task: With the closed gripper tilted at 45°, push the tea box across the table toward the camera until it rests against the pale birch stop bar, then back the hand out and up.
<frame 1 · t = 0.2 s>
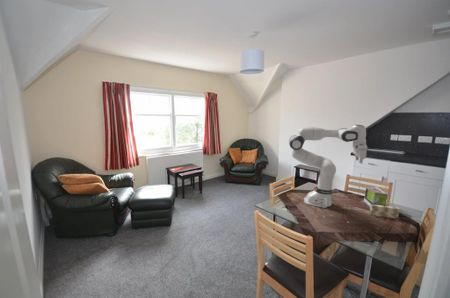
hand: (359, 161, 166), 40 cm above the table, tool pointing down, fingers open, 8 cm apart
tea box: (373, 205, 176), on the table
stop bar: (383, 215, 160), on the table
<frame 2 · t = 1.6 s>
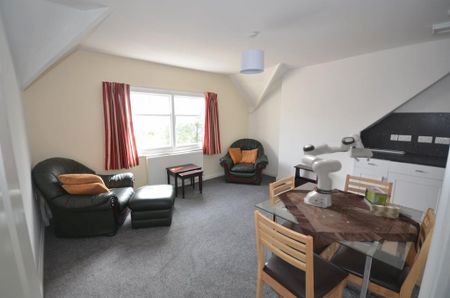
hand: (363, 161, 193), 33 cm above the table, tool tilted 40°, fingers open, 8 cm apart
nothing on the table moved.
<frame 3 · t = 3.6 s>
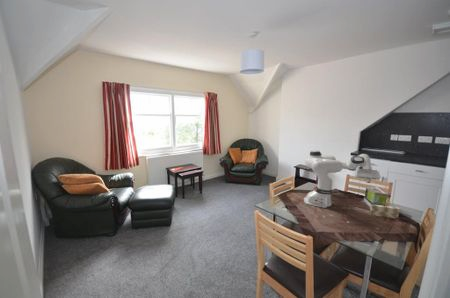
hand: (368, 182, 190), 14 cm above the table, tool tilted 45°, fingers closed
nothing on the table moved.
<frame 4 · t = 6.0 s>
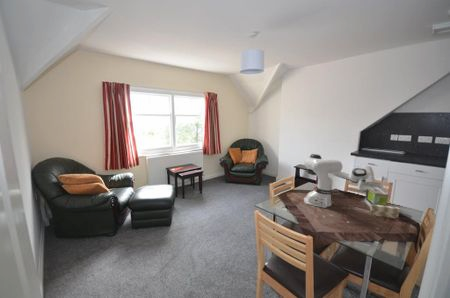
hand: (372, 196, 181), 5 cm above the table, tool tilted 45°, fingers closed, pressing on tea box
tea box: (374, 206, 175), on the table, touching gripper
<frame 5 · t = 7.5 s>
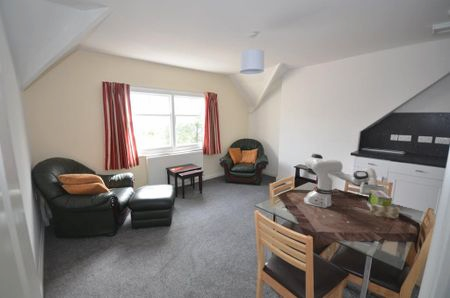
hand: (375, 200, 175), 5 cm above the table, tool tilted 45°, fingers closed, pressing on tea box
tea box: (377, 210, 168), on the table, touching gripper, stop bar
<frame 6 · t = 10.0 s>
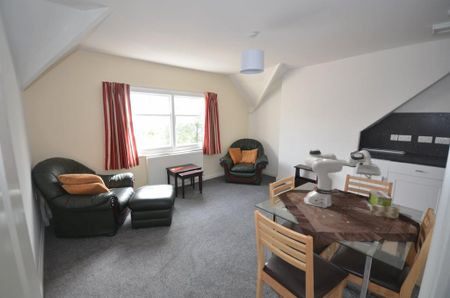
hand: (369, 178, 189), 18 cm above the table, tool tilted 45°, fingers closed
tea box: (377, 210, 169), on the table
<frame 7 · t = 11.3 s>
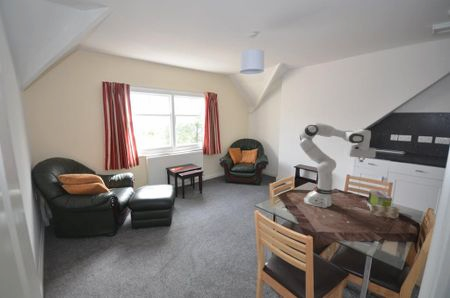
hand: (360, 162, 185), 34 cm above the table, tool pointing down, fingers closed
nothing on the table moved.
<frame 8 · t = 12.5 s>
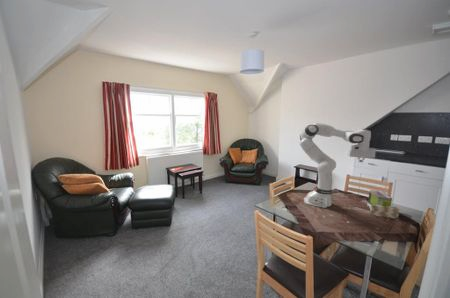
hand: (360, 162, 185), 34 cm above the table, tool pointing down, fingers closed
nothing on the table moved.
at the end: tea box inside the target area (0.4 cm from its centre), on the table; tea box tilted 0°; tea box moved 8.3 cm from its start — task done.
